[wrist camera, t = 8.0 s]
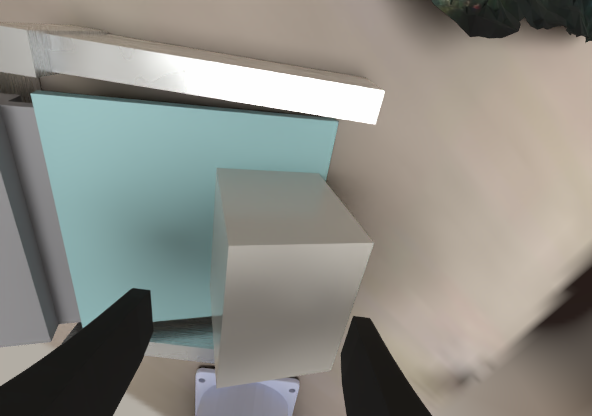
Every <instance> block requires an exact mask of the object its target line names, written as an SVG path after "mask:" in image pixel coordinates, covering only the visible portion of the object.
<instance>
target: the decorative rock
mask: <svg viewBox="0 0 592 416" xmlns="http://www.w3.org/2000/svg"><path fill="white" fill-rule="evenodd" d="M432 2H433V4H434V5H435V6H437V7H438V8H439V9H440V10H442V11H443V12H444V13H445V14H447V15H448V16H449V17H450V18H452V19H453V20H454V21H455V22H456V23H457V24H458V25H459V26H460V27H461V28H462V29H463V30H464V31H465V32H466V33H467V34H468V35H469V36H470V37H475V36H480V37H486V38H503V37H506V36H508V35H511V34H513V33H515V32H518V31H519V28H520V25H521V24H520V22H519V21H521V20H522V19H523V18H524V17H525V18H526V20H527V21H528V23H529V24H530V26H532V27H534V28H536V29H537V30H538V29H541V28H545V29H550V28H553V27H556V26H564V27H565V28H567V29H566V31H567V32H568V33H569V34H570V35H571V34H574V35H576V37H578V36H581V35H582V36H584V37H586V42H588V41H592V0H432ZM586 42H585V43H586Z"/></svg>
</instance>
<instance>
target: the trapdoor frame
mask: <svg viewBox="0 0 592 416" xmlns="http://www.w3.org/2000/svg"><path fill="white" fill-rule="evenodd" d="M61 73H62V74H68V75H74V76H81V77H87V78H93V79H99V80H105V81H111V82H118V83H124V84H130V85H136V86H142V87H148V88H155V89H161V90H167V91H173V92H179V93H185V94H192V95H198V96H204V97H210V98H216V99H222V100H229V101H235V102H241V103H247V104H253V105H259V106H265V107H272V108H278V109H284V110H290V111H296V112H302V113H309V114H315V115H321V116H327V117H333V118H339V119H346V120H352V121H358V122H364V123H370V124H376V121H377V117H378V113H379V110H380V106H381V102H382V99H383V95H384V90H383V89H381V88H380V87H378V86H377V85H375V84H374V83H372V82H371V81H370V80H368V79H367V78H364V77H359V76H353V75H347V74H341V73H335V72H329V71H323V70H317V69H312V68H306V67H300V66H294V65H288V64H282V63H276V62H270V61H265V60H259V59H253V58H247V57H241V56H235V55H229V54H223V53H218V52H212V51H206V50H200V49H194V48H188V47H182V46H176V45H171V44H165V43H159V42H153V41H147V40H141V39H135V38H129V37H124V36H118V35H112V34H108V31H103V30H97V29H91V28H85V27H79V26H74V25H58V24H33V23H9V22H0V93H3V94H14V95H21V98H22V102H23V103H32V98H31V94H30V93H32V92H34V91H36V90H41V87H40V82H39V77H43V76H49V75H55V74H61ZM81 329H83V327H82V323H81V322H78V323H77V325H76V326H75V327H74V328H73V330H72V331H71V332H70V334H69V335H68V336H67V337H66V339H65V340H64V341H63V343H64V342H66V341H67V340H68V339H70V338H71V337H72V336H74V335H75V334H76V333H78V332H79V331H80V330H81ZM153 330H154V331H153V334H152V337H151V339H150V342H149V344H148V347H147V349H146V352H145V354H144V355H146V356H154V357H163V358H171V359H180V360H188V361H197V362H205V363H214V364H215V359H214V344H213V328H212V316H208V317H198V318H188V319H177V320H167V321H156V322H153ZM63 343H62V344H63Z"/></svg>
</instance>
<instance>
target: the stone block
mask: <svg viewBox="0 0 592 416" xmlns="http://www.w3.org/2000/svg"><path fill="white" fill-rule="evenodd" d="M373 245H374V242H373V241H372V239H371V238H370V237H369V236H368V234H367V233H366V232H365V231H364V229H363V228H362V227H361V226H360V224H359V223H358V222H357V221H356V219H355V218H354V217H353V216H352V214H351V213H350V212H349V211H348V209H347V208H346V207H345V206H344V204H343V203H342V202H341V201H340V199H339V198H338V197H337V196H336V194H335V193H334V192H333V191H332V189H331V188H330V187H329V186H328V184H327V183H326V182H325V181H324V179H323V178H322V177H321V176H320V174H319V173H304V172H285V171H266V170H247V169H228V168H216V183H215V201H214V218H213V236H212V254H211V271H210V297H211V313H212V328H213V344H214V359H215V375H216V388H223V387H229V386H236V385H242V384H249V383H255V382H262V381H268V380H275V379H281V378H287V377H294V376H300V375H307V374H313V373H320V372H326V371H331V369H332V366H333V363H334V360H335V357H336V354H337V351H338V348H339V345H340V342H341V339H342V336H343V333H344V330H345V327H346V324H347V322H348V319H349V316H350V313H351V310H352V307H353V304H354V301H355V298H356V295H357V292H358V289H359V286H360V283H361V280H362V277H363V274H364V271H365V269H366V266H367V263H368V260H369V257H370V254H371V251H372V248H373Z"/></svg>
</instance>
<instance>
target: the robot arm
mask: <svg viewBox="0 0 592 416" xmlns="http://www.w3.org/2000/svg"><path fill="white" fill-rule="evenodd" d="M153 331H154V330H153V317H152V304H151V291H150V290H145V289H138V288H132V289H130V290H129V291H128V292H127V293H125V294H124V295H123V296H122V297H121V298H119V299H118V300H117V301H116V302H115V303H113V304H112V305H111V306H110V307H109V308H107V309H106V310H105V311H104V312H103V313H101V314H100V315H99V316H98V317H96V318H95V319H94V320H93V321H91V322H90V323H89V324H88V325H86V326H85V327H84V328H83V329H81V330H80V331H79V332H78V333H76V334H75V335H74V336H72V337H71V338H70V339H68V340H67V341H66V342H64V343H63V344H62V345H60V346H59V347H57V348H56V349H55V350H53V351H52V352H51V353H50V354H48V355H47V356H45V357H44V358H42V359H41V360H40V361H38V362H37V363H35V364H34V365H32V366H31V367H29V368H28V369H26V370H25V371H23V372H22V373H20V374H19V375H17V376H16V377H14V378H13V379H11V380H9V381H8V382H6V383H5V384H3V385H2V386H0V416H113V414H114V412H115V410H116V409H117V407H118V405H119V403H120V401H121V399H122V397H123V396H124V394H125V392H126V390H127V388H128V386H129V384H130V382H131V380H132V379H133V377H134V375H135V373H136V371H137V369H138V367H139V365H140V363H141V361H142V359H143V357H144V354H145V352H146V349H147V347H148V344H149V342H150V339H151V337H152V334H153ZM341 373H342V387H343V394H344V400H345V407H346V414H347V416H432V415H431V414H430V412H429V411H428V409H427V408H426V407H425V405H424V404H423V403H422V401H421V400H420V398H419V397H418V395H417V394H416V393H415V391H414V390H413V388H412V387H411V385H410V384H409V382H408V381H407V379H406V378H405V376H404V374H403V373H402V371H401V370H400V368H399V367H398V365H397V363H396V362H395V360H394V359H393V357H392V355H391V354H390V352H389V350H388V349H387V347H386V345H385V343H384V342H383V340H382V338H381V336H380V335H379V333H378V331H377V329H376V328H375V326H374V324H373V322H372V321H371V319H370V318H364V317H356V316H353V318H352V321H351V324H350V327H349V330H348V334H347V337H346V340H345V343H344V346H343V349H342V352H341ZM298 391H299V380H297V379H295V378H281V379H275V380H268V381H262V382H255V383H249V384H242V385H236V386H229V387H223V388H216V375H215V369H209V368H199V369H198V370H197V372H196V385H195V416H292V414H293V410H294V406H295V402H296V398H297V394H298Z"/></svg>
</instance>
